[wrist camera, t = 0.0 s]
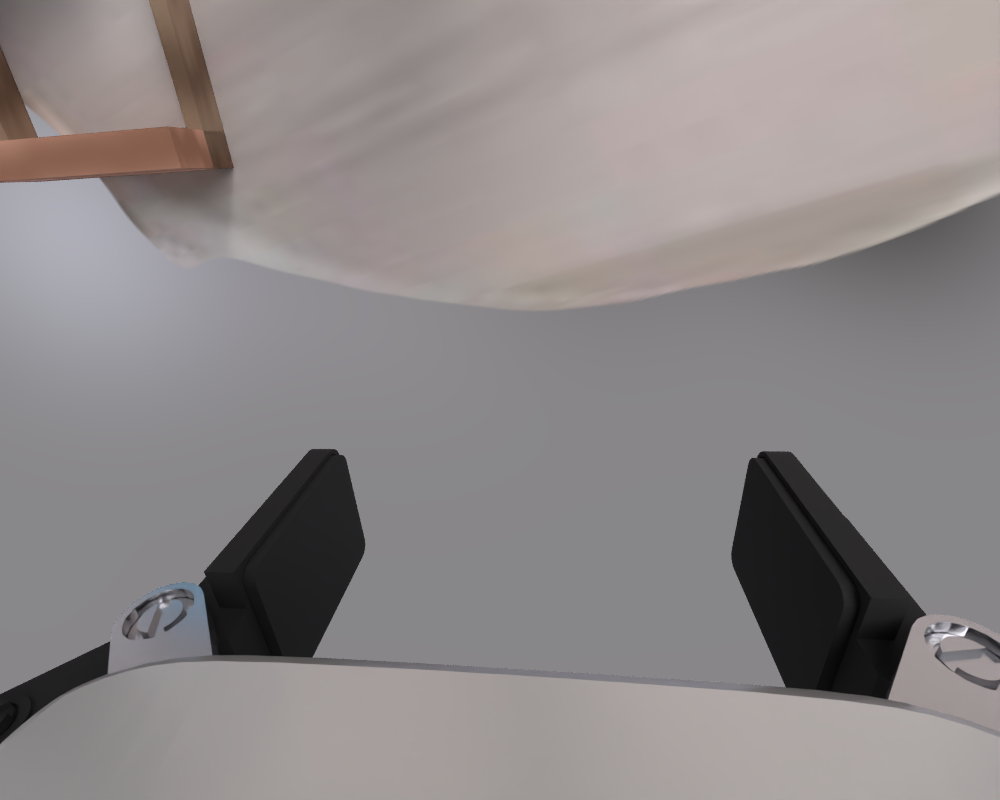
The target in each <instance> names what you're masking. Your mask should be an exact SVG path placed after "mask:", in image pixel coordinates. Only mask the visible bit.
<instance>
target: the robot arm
mask: <svg viewBox="0 0 1000 800" xmlns="http://www.w3.org/2000/svg"><path fill="white" fill-rule="evenodd" d="M364 550H365V539H364V534H363V530H362V526H361V522H360V517H359V513H358V509H357V504H356V500H355V496H354V492H353V488H352V483H351V479H350V474H349V470H348V466H347V462H346V459H345V457H344V456H343V455H339V453H338V451H337V450H335V449H312V450H310V451H309V452H308V453H307V454H306V455H305V456H304V457H303V459H302V460H301V461H300V462H299V463H298V464H297V466H296V467H295V468H294V469H293V470H292V471H291V473H290V474H289V475H288V476H287V477H286V478H285V479H284V480H283V482H282V483H281V484H280V485H279V486H278V487H277V488H276V490H275V491H274V492H273V493H272V494H271V495H270V497H269V498H268V499H267V500H266V501H265V502H264V503H263V505H262V506H261V507H260V508H259V509H258V510H257V512H256V513H255V514H254V515H253V516H252V517H251V518H250V520H249V521H248V522H247V523H246V524H245V525H244V526H243V528H242V529H241V530H240V531H239V532H238V533H237V534H236V536H235V537H234V538H233V539H232V540H231V541H230V542H229V544H228V545H227V546H226V547H225V548H224V549H223V551H222V552H221V553H220V554H219V555H218V556H217V557H216V559H215V560H214V561H213V562H212V563H211V565H209V567H208V568H207V569H206V570H205V571H204V573H205V575H206V577H205V579H204V580H203V581H202V582H201V583H200V584H199V586H197V585H196V584H194V583H185V582H182V583H175V584H170V585H167V586H164V587H161V588H158V589H156V590H154V591H152V592H150V593H148V594H146V595H144V596H143V597H141V598H140V599H138V600H137V601H135V602H134V603H132V604H131V605H130V606H129V607H128V608H127V609H126V610H125V611H124V612H123V613H121V615H120V616H119V618H118V619H117V620H116V622H115V623H114V626H113V629H112V632H111V639H110V642H108V643H106V644H104V645H102V646H100V647H98V648H95V649H93V650H91V651H89V652H87V653H85V654H83V655H81V656H79V657H77V658H75V659H73V660H71V661H68V662H66V663H64V664H62V665H60V666H58V667H56V668H54V669H52V670H50V671H48V672H46V673H44V674H41V675H40V676H37V677H35V678H33V679H31V680H29V681H27V682H25V683H23V684H21V685H19V686H17V687H14V688H12V689H10V690H8V691H6V692H4V693H2V694H0V800H1000V635H999V634H997V633H995V632H993V631H991V630H989V629H987V628H985V627H983V626H981V625H979V624H977V623H974V622H971V621H968V620H965V619H962V618H959V617H954V616H949V615H943V614H942V615H941V614H936V615H926V614H925V613H924V611H923V610H922V609H921V608H920V607H919V605H918V604H917V603H916V602H915V600H914V599H913V598H912V597H911V596H910V594H909V593H908V592H907V591H906V590H905V588H904V587H903V586H902V585H901V584H900V582H899V581H898V580H897V579H896V577H895V576H894V575H893V574H892V573H891V571H890V570H889V569H888V568H887V566H886V565H885V564H884V563H883V562H882V560H881V559H880V558H879V557H878V555H877V554H876V553H875V552H874V551H873V549H872V548H871V547H870V546H869V545H868V543H867V542H866V541H865V540H864V538H863V537H862V536H861V535H860V534H859V532H858V531H857V530H856V529H855V527H854V526H853V525H852V524H851V523H850V521H849V520H848V519H847V518H845V516H843V515H842V513H841V512H840V511H839V509H838V508H837V507H836V506H835V505H834V503H833V502H832V501H831V500H830V499H829V497H828V496H827V495H826V494H825V492H823V490H822V489H821V488H820V486H819V485H818V484H817V483H816V482H815V480H814V479H813V478H812V476H811V475H810V474H809V473H808V472H807V470H806V469H805V468H804V467H803V465H802V464H801V463H800V462H799V461H798V460H797V458H796V457H795V456H794V455H793V454H792V453H791V452H767V451H764V452H760V453H759V455H758V457H757V458H752V459H750V461H749V465H748V469H747V474H746V479H745V485H744V490H743V495H742V500H741V505H740V510H739V516H738V521H737V526H736V531H735V536H734V541H733V546H732V553H731V555H732V563H733V567H734V570H735V572H736V575H737V577H738V579H739V581H740V584H741V586H742V588H743V590H744V593H745V595H746V597H747V599H748V602H749V604H750V606H751V609H752V611H753V613H754V616H755V618H756V620H757V622H758V624H759V627H760V629H761V632H762V634H763V636H764V638H765V641H766V643H767V645H768V647H769V650H770V652H771V654H772V657H773V659H774V661H775V663H776V666H777V668H778V670H779V673H780V675H781V677H782V679H783V681H784V684H785V686H786V687H773V686H760V685H749V684H737V683H724V682H709V681H695V680H680V679H664V678H649V677H634V676H619V675H604V674H589V673H573V672H557V671H540V670H523V669H508V668H490V667H474V666H458V665H441V664H422V663H405V662H386V661H367V660H350V659H332V658H312V657H313V655H314V653H315V651H316V649H317V647H318V645H319V643H320V641H321V639H322V637H323V635H324V633H325V631H326V629H327V627H328V625H329V623H330V621H331V619H332V617H333V615H334V613H335V611H336V609H337V607H338V605H339V603H340V601H341V599H342V597H343V595H344V593H345V591H346V589H347V587H348V585H349V583H350V581H351V579H352V577H353V575H354V573H355V571H356V569H357V567H358V565H359V563H360V561H361V559H362V556H363V554H364Z"/></svg>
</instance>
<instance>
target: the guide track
mask: <svg viewBox="0 0 1000 800" xmlns="http://www.w3.org/2000/svg"><path fill="white" fill-rule="evenodd" d="M149 2H150V6H151V9H152V12H153V16H154V19H155V22H156V26H157V29H158V32H159V36H160V39H161V43H162V46H163V49H164V53H165V56H166V59H167V63H168V66H169V69H170V73H171V76H172V79H173V83H174V86H175V90H176V93H177V96H178V100H179V103H180V106H181V110H182V113H183V116H184V120H185V123H186V127H187V128H177V127H158V128H146V129H134V130H122V131H111V132H99V133H87V134H75V135H63V136H52V137H39V138H38V136H37V134H36V132H35V129H34V127H33V124H32V122H31V120H30V117H29V115H28V113H27V110H26V108H25V105H24V103H23V100H22V98H21V96H20V93H19V91H18V88H17V86H16V84H15V81H14V79H13V76H12V74H11V72H10V69H9V67H8V65H7V62H6V60H5V57H4V55H3V53H2V50H1V48H0V183H2V182H3V183H4V182H38V181H55V180H69V179H83V178H95V177H96V178H97V177H111V176H125V175H139V174H153V173H167V172H181V171H195V170H209V169H223V168H233V164H232V160H231V157H230V153H229V149H228V145H227V142H226V138H225V134H224V131H223V127H222V123H221V119H220V116H219V112H218V108H217V105H216V101H215V97H214V93H213V90H212V86H211V82H210V79H209V75H208V71H207V67H206V64H205V60H204V56H203V53H202V49H201V45H200V41H199V38H198V34H197V30H196V27H195V23H194V19H193V15H192V12H191V8H190V4H189V1H188V0H149Z"/></svg>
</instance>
